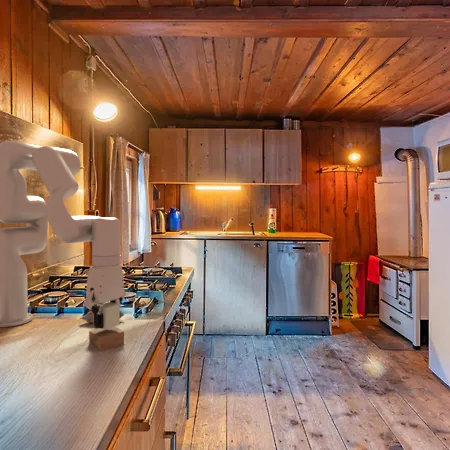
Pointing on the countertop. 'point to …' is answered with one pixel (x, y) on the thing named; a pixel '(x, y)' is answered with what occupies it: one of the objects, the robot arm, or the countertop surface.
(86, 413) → the countertop surface
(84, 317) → the packaged food
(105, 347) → the walnut base
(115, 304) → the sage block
